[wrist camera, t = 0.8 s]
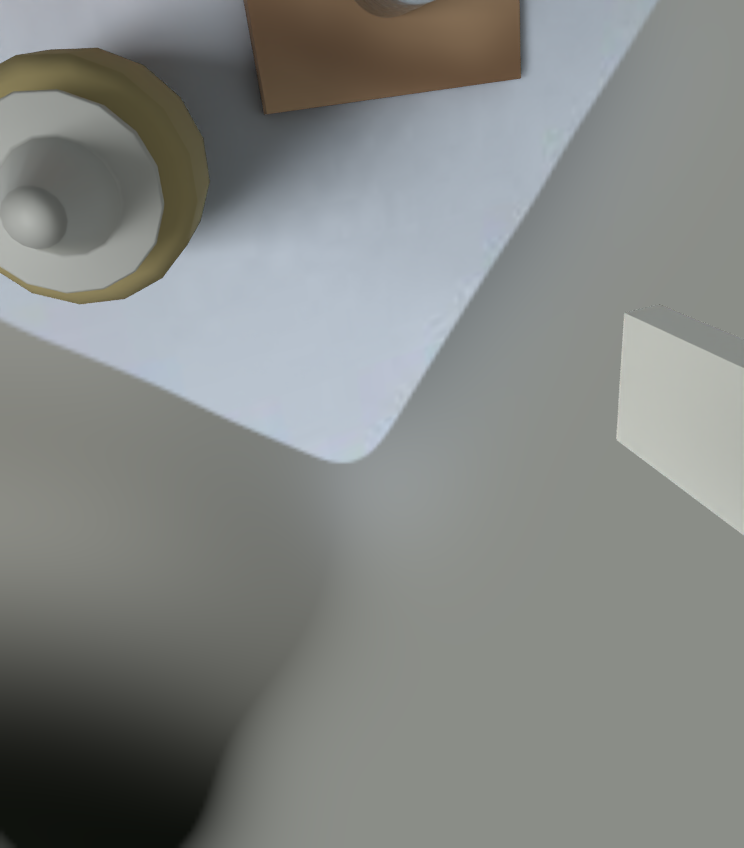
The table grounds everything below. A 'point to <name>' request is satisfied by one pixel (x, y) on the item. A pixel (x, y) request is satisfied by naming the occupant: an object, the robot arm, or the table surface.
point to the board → (377, 49)
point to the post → (390, 6)
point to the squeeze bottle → (94, 175)
